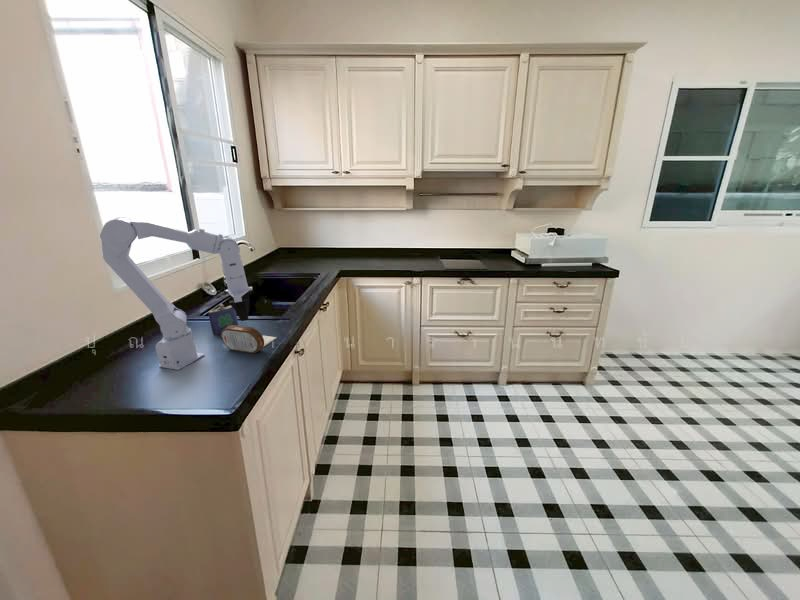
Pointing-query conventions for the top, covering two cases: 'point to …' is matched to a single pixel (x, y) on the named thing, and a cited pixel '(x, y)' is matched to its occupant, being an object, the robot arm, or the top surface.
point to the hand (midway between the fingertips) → (245, 315)
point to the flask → (222, 318)
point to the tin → (242, 338)
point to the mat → (268, 339)
